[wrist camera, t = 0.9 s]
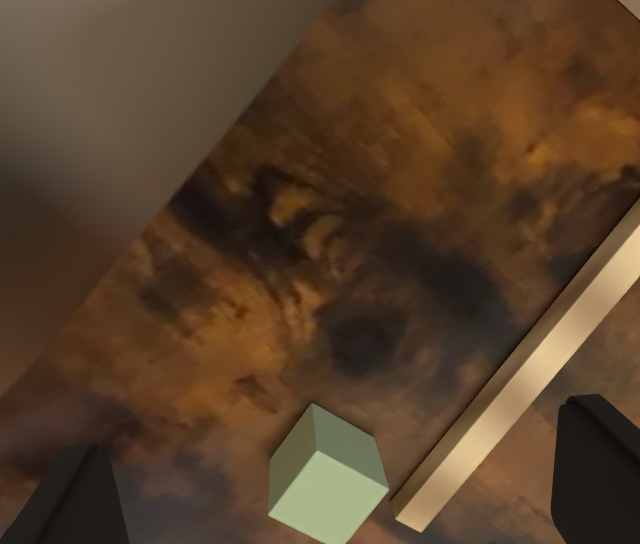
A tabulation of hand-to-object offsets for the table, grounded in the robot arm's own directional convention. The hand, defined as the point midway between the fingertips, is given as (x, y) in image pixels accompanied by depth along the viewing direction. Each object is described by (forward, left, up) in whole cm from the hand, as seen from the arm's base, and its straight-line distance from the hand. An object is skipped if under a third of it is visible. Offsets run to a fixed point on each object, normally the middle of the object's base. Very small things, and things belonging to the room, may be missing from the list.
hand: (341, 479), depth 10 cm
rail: (+14, +6, -17) cm, 23 cm away
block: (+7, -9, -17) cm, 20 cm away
